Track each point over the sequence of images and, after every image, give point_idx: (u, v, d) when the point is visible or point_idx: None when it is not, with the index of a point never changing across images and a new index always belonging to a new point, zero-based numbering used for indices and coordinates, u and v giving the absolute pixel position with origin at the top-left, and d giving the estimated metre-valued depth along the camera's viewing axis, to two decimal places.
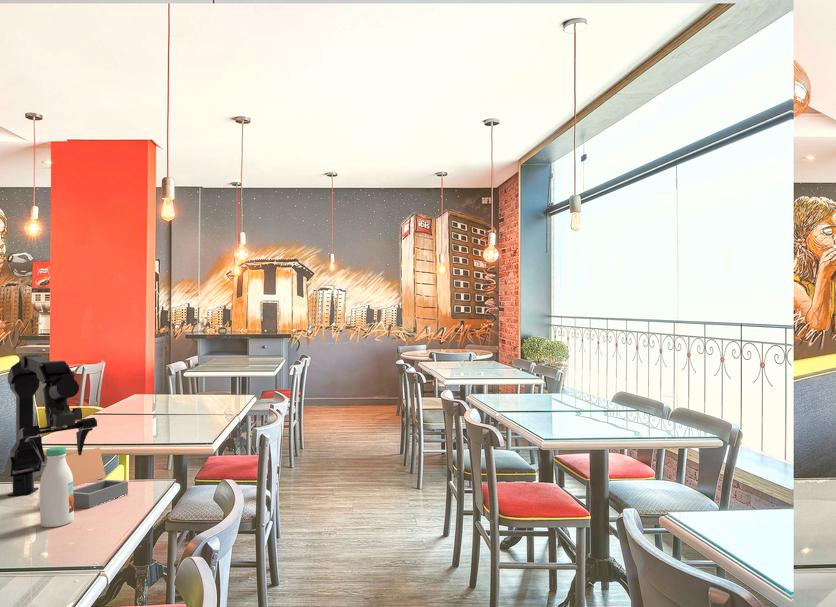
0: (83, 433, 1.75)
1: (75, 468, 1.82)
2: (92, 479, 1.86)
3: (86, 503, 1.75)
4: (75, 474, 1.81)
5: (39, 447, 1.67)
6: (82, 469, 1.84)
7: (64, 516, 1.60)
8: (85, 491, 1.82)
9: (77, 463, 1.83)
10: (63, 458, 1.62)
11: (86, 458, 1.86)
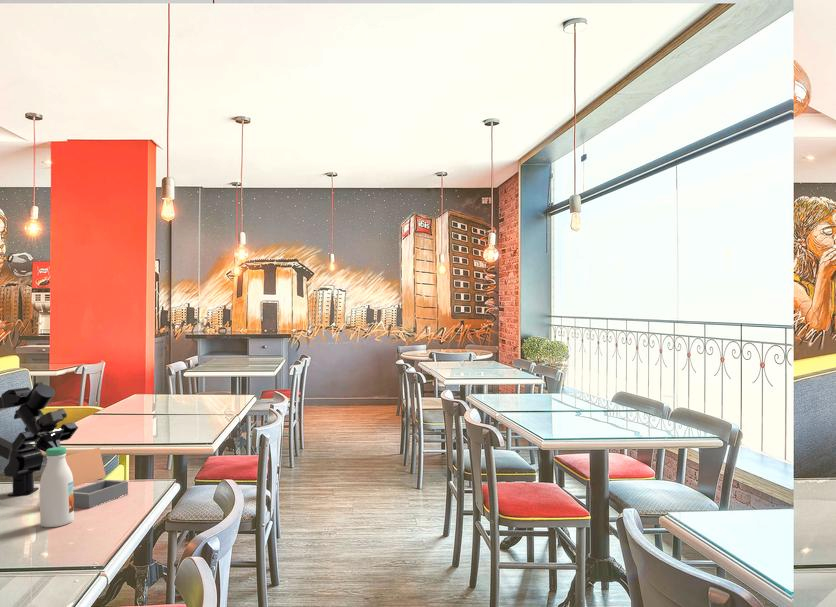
0: (56, 436, 1.90)
1: (75, 468, 1.82)
2: (92, 479, 1.86)
3: (86, 503, 1.75)
4: (75, 474, 1.81)
5: (52, 444, 1.87)
6: (82, 469, 1.84)
7: (64, 516, 1.60)
8: (85, 491, 1.82)
9: (77, 463, 1.83)
10: (63, 458, 1.62)
11: (86, 458, 1.86)
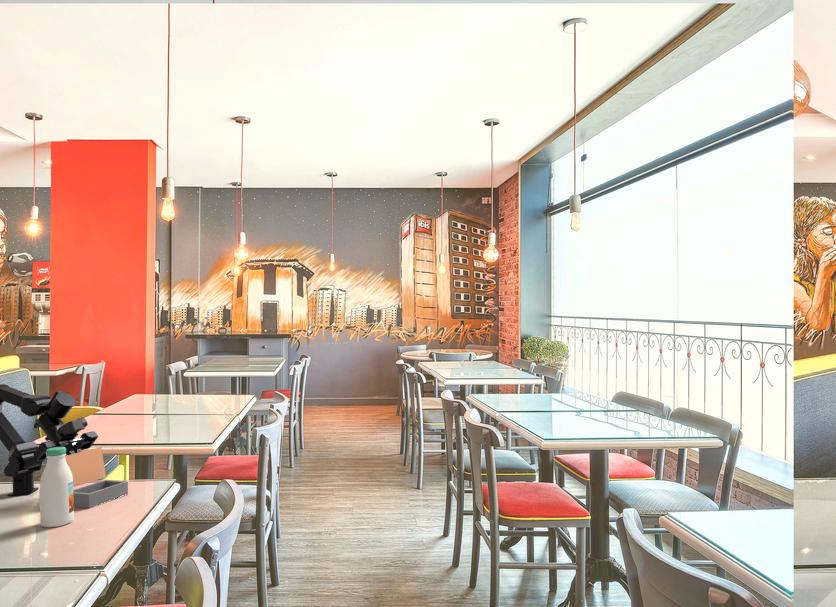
0: (78, 446, 1.87)
1: (76, 467, 1.82)
2: (92, 479, 1.86)
3: (86, 503, 1.75)
4: (76, 474, 1.81)
5: None
6: (83, 468, 1.84)
7: (64, 516, 1.60)
8: (85, 491, 1.82)
9: (79, 463, 1.83)
10: (63, 458, 1.62)
11: (87, 458, 1.86)
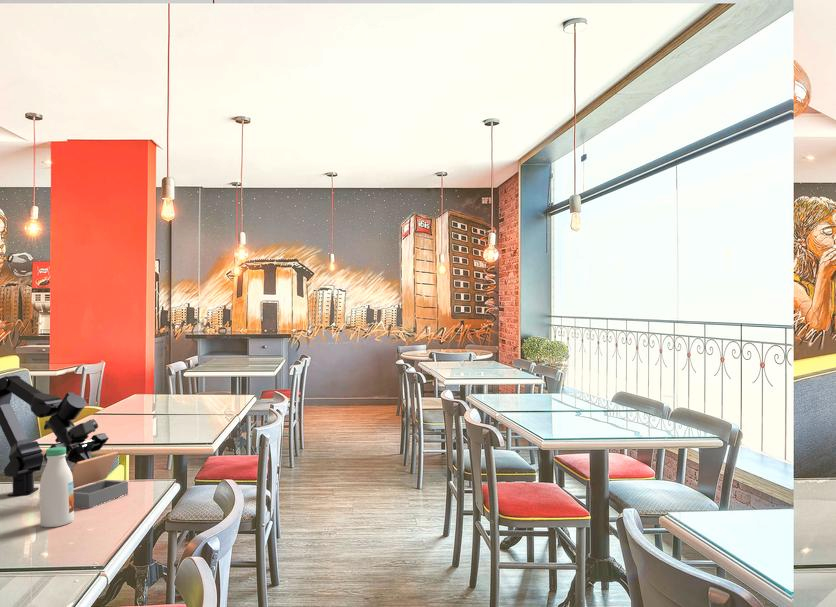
0: (88, 448, 1.85)
1: (86, 472, 1.80)
2: (93, 480, 1.86)
3: (86, 503, 1.75)
4: (82, 477, 1.80)
5: (83, 456, 1.83)
6: (91, 472, 1.83)
7: (64, 516, 1.60)
8: (85, 491, 1.82)
9: (90, 467, 1.81)
10: (63, 458, 1.62)
11: (100, 463, 1.84)
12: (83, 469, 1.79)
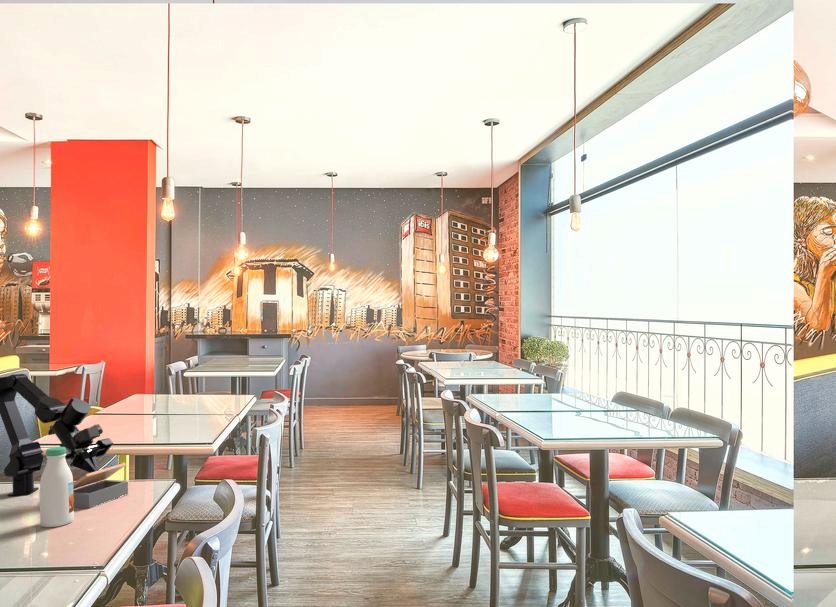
0: (93, 453, 1.85)
1: (90, 479, 1.80)
2: (94, 482, 1.86)
3: (86, 503, 1.75)
4: (85, 482, 1.80)
5: (88, 461, 1.82)
6: (95, 478, 1.82)
7: (64, 516, 1.60)
8: (85, 491, 1.82)
9: (96, 476, 1.80)
10: (63, 458, 1.62)
11: (106, 472, 1.83)
12: (89, 478, 1.78)
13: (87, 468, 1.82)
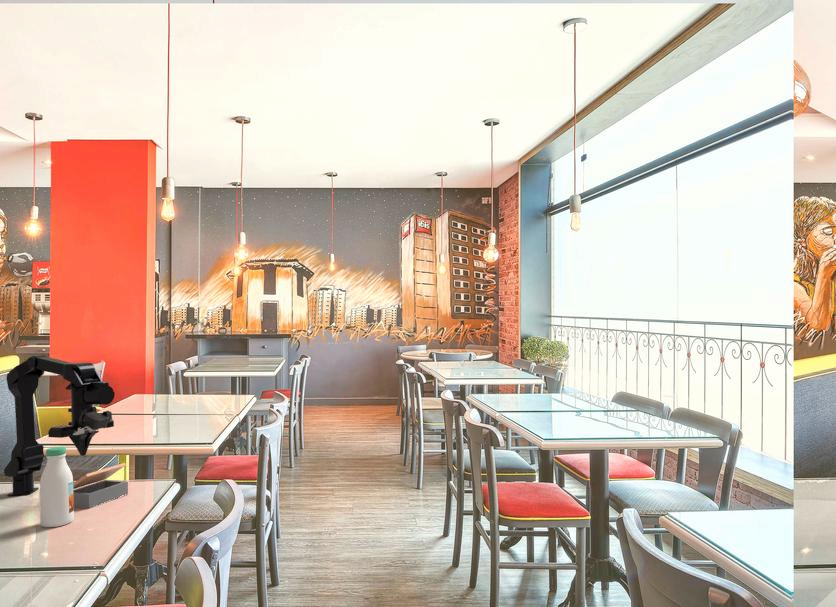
0: (91, 435, 1.85)
1: (90, 479, 1.80)
2: (94, 482, 1.86)
3: (86, 503, 1.75)
4: (85, 482, 1.80)
5: (82, 443, 1.83)
6: (95, 478, 1.82)
7: (64, 516, 1.60)
8: (85, 491, 1.82)
9: (96, 476, 1.80)
10: (63, 458, 1.62)
11: (106, 472, 1.83)
12: (89, 478, 1.78)
13: (78, 446, 1.84)
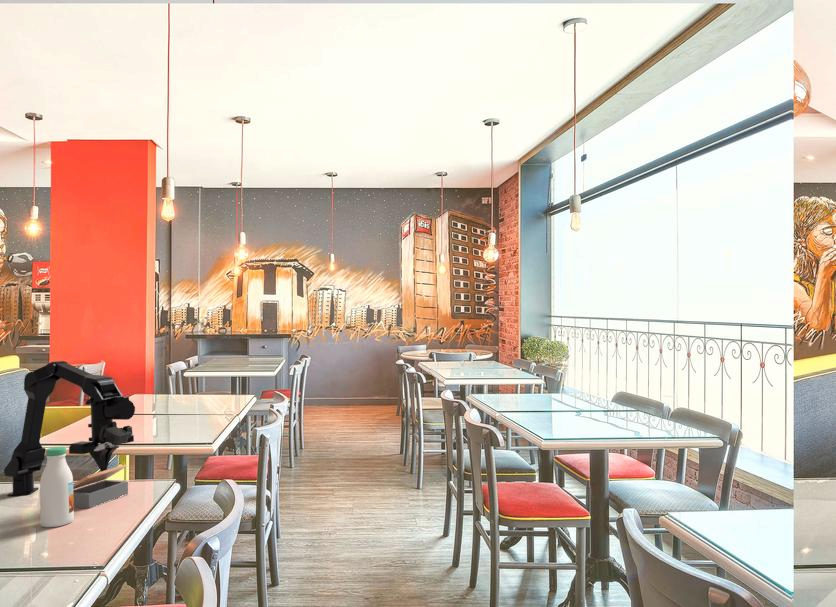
0: (111, 451, 1.82)
1: (91, 480, 1.80)
2: (94, 482, 1.86)
3: (86, 503, 1.75)
4: (85, 483, 1.80)
5: (103, 458, 1.80)
6: (95, 479, 1.82)
7: (64, 516, 1.60)
8: (85, 491, 1.82)
9: (96, 477, 1.80)
10: (63, 458, 1.62)
11: (107, 474, 1.83)
12: (89, 479, 1.78)
13: (98, 462, 1.81)
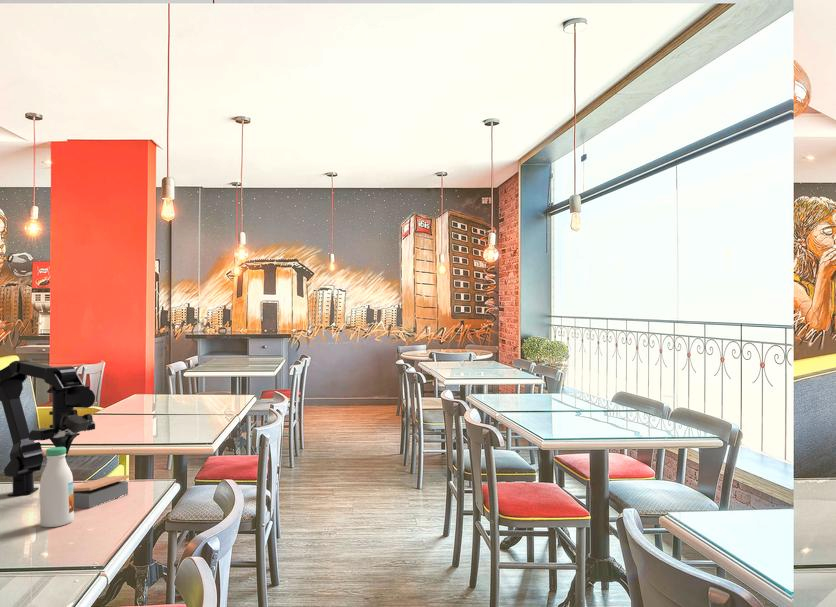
0: (71, 438, 1.88)
1: None
2: None
3: (86, 503, 1.75)
4: None
5: (63, 445, 1.86)
6: None
7: (64, 516, 1.60)
8: (85, 491, 1.82)
9: None
10: (63, 458, 1.62)
11: None
12: None
13: None
